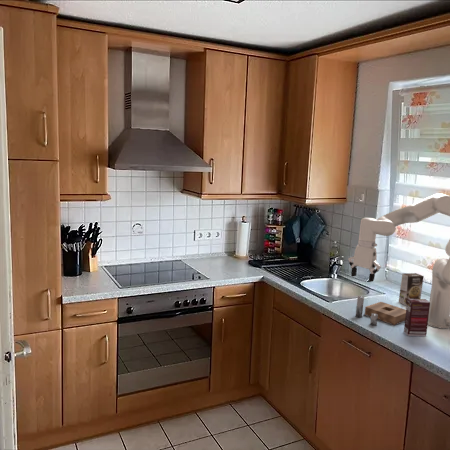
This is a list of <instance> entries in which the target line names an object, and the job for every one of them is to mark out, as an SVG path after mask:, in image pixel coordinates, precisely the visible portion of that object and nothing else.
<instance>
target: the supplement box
mask: <svg viewBox="0 0 450 450" xmlns="http://www.w3.org/2000/svg"><path fill="white" fill-rule="evenodd" d="M429 301H430V300H427V298H426V299H425V298H421V299H407V306H406V309H405V310H406V316H405V321H404V326H403V333H404V334H405V335H406V336H407V337H427V331H428V326H429V325H428V317H429V308H430V302H429Z"/></svg>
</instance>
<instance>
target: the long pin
mask: <svg viewBox="0 0 450 450" xmlns="http://www.w3.org/2000/svg"><path fill="white" fill-rule="evenodd" d="M364 302H365V296H364V295H363V296H362V295H357V300H356V309H355V317H356V318H363V312H364V311H363V310H364Z"/></svg>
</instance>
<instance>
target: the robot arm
mask: <svg viewBox="0 0 450 450" xmlns="http://www.w3.org/2000/svg"><path fill="white" fill-rule="evenodd" d="M437 214H442V215H443V216H448V217H450V195H448V194H444V193H440V192H438V193H434V194H432V195H430V196H427V197H425V198H423V199H420V200H419V201H417V202H415V203H412V204H410V205H407V206H404V207H402V208H399V209H395V210H393V211H391V212H388V213H386V214H384V215H382V216H380V217H377V219H376V218H374V217H363V218H361V220H360V227H359V235H358V243H357V245H356V247H355V249H354V253H353V254H354V255H353V256H351V257H347V259H348V262H349V263H348V264H349V265H350V268H351V277H356V276H357V273H358V272H357V271H358V269H357V267H360V268H364V269H366V270H368V271H369V273H370V274H369V276H368V282H369V283H372V282H374V280H375V277H376V273H378V272H379V271H380V269H381V268H382V265H380V263H378V262H377V257H378V256H377V255H378V254H377V248H376V247H377V246H378V244H377V243H376V238H377V236H378V235H379V236H383V237H391V236H392V235H393V234H394V233H395V232H396V227H397V226H401V225H404V224H415V223H419V222H421V221H424V220H427V219H428V218H430V217H432V216H435V215H437ZM444 250H445V253H446V254H447V256H448V257H449V258H439V259H437V260H436V261H435V262H434V263H433V266H432V270H431V271H432V272H431V273H432V274H431V276H432V277H431V288H430V296H429V300H428V301H429V302H430V308H429V317H428V325H427V326H430V327H433V328H437V329H450V239H448V241H447V244H446V245H445V249H444Z"/></svg>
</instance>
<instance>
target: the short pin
mask: <svg viewBox="0 0 450 450" xmlns="http://www.w3.org/2000/svg"><path fill="white" fill-rule="evenodd" d="M378 320H379V319H378V314H375V313H372V314H371V317H370V322H369V324H370V326H372V327H376V326H377V325H378Z"/></svg>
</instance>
